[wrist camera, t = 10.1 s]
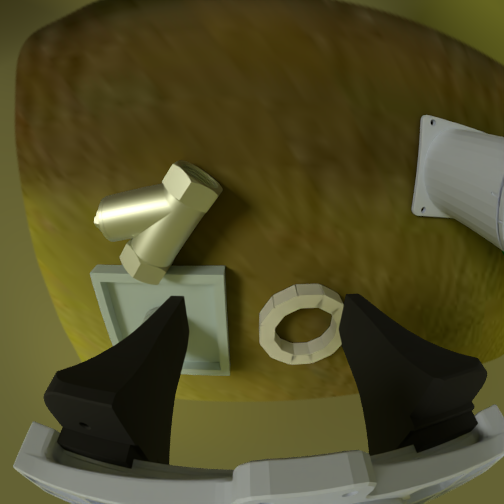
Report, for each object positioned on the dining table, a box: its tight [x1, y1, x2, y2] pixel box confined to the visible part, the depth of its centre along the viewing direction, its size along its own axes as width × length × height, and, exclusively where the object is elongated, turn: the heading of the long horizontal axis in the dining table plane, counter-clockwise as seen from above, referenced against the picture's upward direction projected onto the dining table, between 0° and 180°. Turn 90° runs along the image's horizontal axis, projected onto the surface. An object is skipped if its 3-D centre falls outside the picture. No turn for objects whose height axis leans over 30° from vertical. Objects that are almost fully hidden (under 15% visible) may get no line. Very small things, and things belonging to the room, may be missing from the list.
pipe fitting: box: [94, 160, 223, 285], centre depth 19 cm, size 8×4×7 cm
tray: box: [90, 265, 230, 376], centre depth 24 cm, size 11×11×1 cm
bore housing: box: [259, 284, 344, 364], centre depth 24 cm, size 8×8×2 cm
